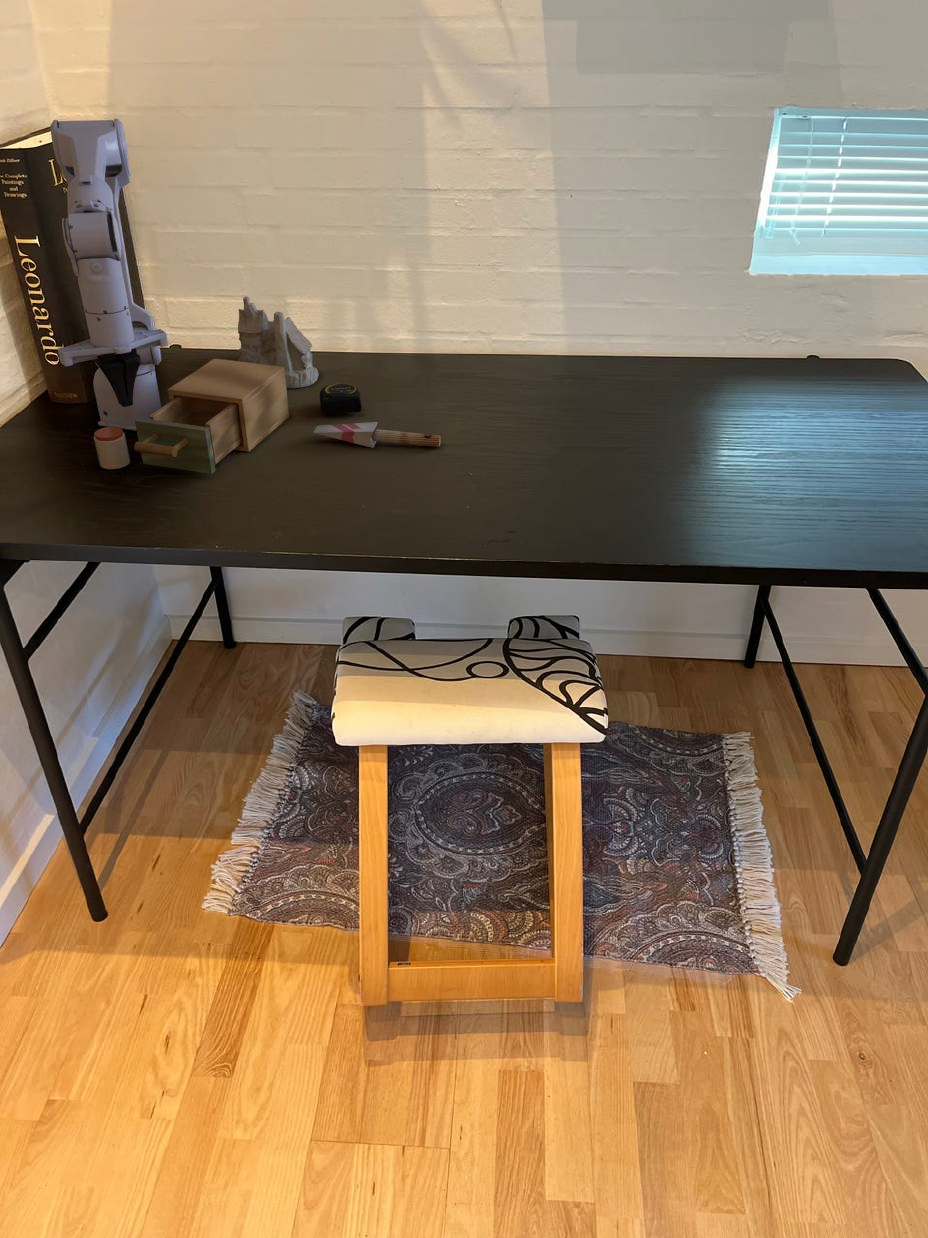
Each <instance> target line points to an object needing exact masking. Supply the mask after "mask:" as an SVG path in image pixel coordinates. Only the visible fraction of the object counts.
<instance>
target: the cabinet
mask: <svg viewBox="0 0 928 1238" xmlns="http://www.w3.org/2000/svg"><path fill="white" fill-rule="evenodd" d="M287 390H288V388H286V379H285V369H284V367H281V366H272V365H264V364H256V363H248V362H239V361H238V360H232V359H231V360H230V359H223V358H213V359H211V360H210V361H208V362H207V363H205V364H204V365H202V366H200V368H198V369H197V370H195V371H194V372H192V373H190V374H189V375H187V376H186V377H184V378H183V379H181V380H180V381H178V382H177V383H175V384H173V385H172V386H171V387H169V388H168V389H167V395H168V400H169V402H170V401H172V400H173V399H175V398H176V397H178V396H186V397H194V398H201V399H209V400H216V401H224V402H232V403H239V404H238V405H239V413H240V421H241V429H242V436H243V442H242V443H240V444H239V445H238V446H237V447H236V448H235V449H233V450H232V451H240V452H247V453H249V452H251V451H252V450H253V449H255V447H256V446H258V444H260V443H261V442H262V441H264V439H265V438H267V437H268V436H269V435H271V433H273V432H274V431H275V430H276V429H277V428H278V427H279V426H280V425H282V424H283V423H284V422H285V421H286V420H287V419H289V418H290V411H289V401H288V391H287Z"/></svg>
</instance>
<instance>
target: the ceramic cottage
mask: <svg viewBox="0 0 928 1238" xmlns="http://www.w3.org/2000/svg"><path fill="white" fill-rule="evenodd" d="M242 302H243V308H238V323H237V332H238V336H239V337H238V341H239V342H240V348H238V358H237V361H239V362H248V363H256V364H264V365H272V366H281V367H284V369H285V379H286V389H296V388H297V389H299V388H304V387H305V388H306V387H309V386H311V385H313V384H315V383H316V382H317V381H318V379H319V371H318V369H317V368H316V367H315V366H313V359H314V358H313V357H314V354H313V353H312V351H311V349H312V348H313V344H312V342H311V341H310V340H309V339H308V338H307V337H306V336H305V335H304V334H303V333H302V331H301V330H299V329H298V326H297V325H295V323H294V321H293V320H292V319H291V316H290V317H289V316H287V317H286V318H285V316H284V313H283V312H281V311H275V312H274V313H273V319H272V320H269V318H268V316H267V313H266V312H265V311H264V309H257V307H256V305H255V303H254V302H251V301H250V297H249V296H246V295H245V296H243V299H242Z"/></svg>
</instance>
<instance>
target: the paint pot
mask: <svg viewBox="0 0 928 1238" xmlns="http://www.w3.org/2000/svg"><path fill="white" fill-rule="evenodd" d="M93 434H94V436H93V442H94V446H95V450H96V455H97V459H98V464H99V466H100V468H103V469H104V470H117V469H122V468H125V467H127V466H128V465H129V464H130V463H131V458H130V453H129V448H128V444H127V438H126V433H125V432H124V429H121V428H118V427H106V426H104V427H103V428H99V429H97V430H96V431H95V432H94V433H93Z"/></svg>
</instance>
